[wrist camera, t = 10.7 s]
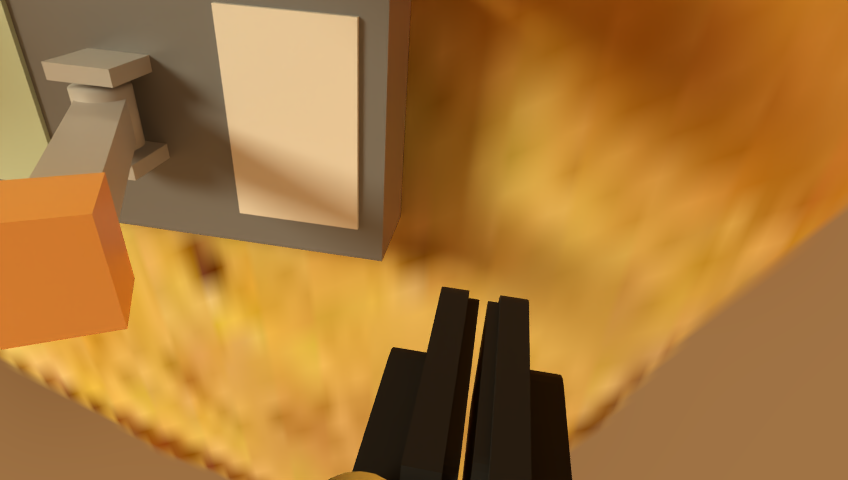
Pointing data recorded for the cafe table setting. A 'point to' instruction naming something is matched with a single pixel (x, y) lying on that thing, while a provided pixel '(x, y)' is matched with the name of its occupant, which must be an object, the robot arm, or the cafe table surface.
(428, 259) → the cafe table surface
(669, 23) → the cafe table surface
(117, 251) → the lever
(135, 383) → the cafe table surface
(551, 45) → the cafe table surface
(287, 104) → the switch box
